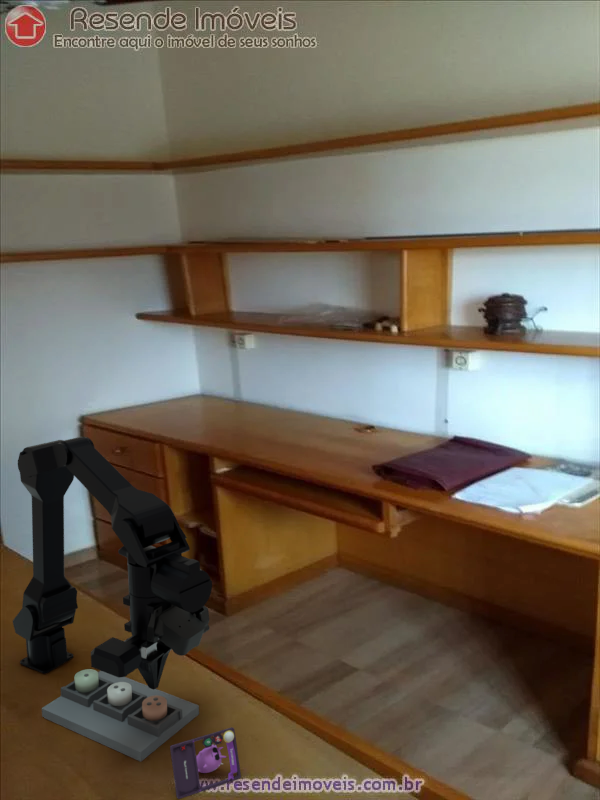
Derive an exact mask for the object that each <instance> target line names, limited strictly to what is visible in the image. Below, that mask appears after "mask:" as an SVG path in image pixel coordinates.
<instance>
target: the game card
mask: <svg viewBox="0 0 600 800" xmlns="http://www.w3.org/2000/svg"><path fill="white" fill-rule="evenodd" d="M235 731H236V730H235V728H234V727H229V728H228V727H227V728H225V729H222V730H218V731H215V732H212V733H208V734H205V735H201V736H198V737H196V738H192V739H188V740H185V741H181V742H178V743H175V744H172V745H170V746H169V748H170V749H169V751H170V757H171V765H172V772H173V779H174V780H173V781H174V786H175V787H174V788H175V795H176V798H177V799H178V800H180V799H183V798H186V797H189V796H192V795H195V794H198V793H202V792H204V791H207V790H210V789H213V788H216V787H219V786H223V785H224V784H228V783H230V782H234V781H237V780H240V779H241V778H242V774H241V773H242V772H241V767H240V759H239V753H238V744H237V738H236V732H235ZM222 734H223V735H222ZM201 740H202V746H204V748H203V749H202V750H200V751H198V754H197V753H196V745H195V742H197V741H198V742H199V741H201ZM222 741H224V742H225V743H226V747H227V748H226V749H227V753H228V758H229V765H230V766H229V767H230V772H228V776H227V778H225V779H223V780H219V781H217V782H213V783H210V784H207V785H204V786H201V782H200V775H199V774H200V773H201V774H207V773H212V772H214V771H216V770H217V769H218V768H219V767H220V766H221V765H224V763H222V760H223V759H225V758H227V756H226V755H223V754H222V753H221V750H222V749H223V748H224V746H220V747H219V746H218V747H217V745H220V744H222V743H223V742H222ZM234 774H236V775H235V776H234Z"/></svg>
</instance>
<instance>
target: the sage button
mask: <svg viewBox="0 0 600 800" xmlns="http://www.w3.org/2000/svg"><path fill="white" fill-rule="evenodd" d="M98 672H99V671H97V669H96V670H95V669H94V668H93V669H92V668H91V669H90V668H87V669H82V670H80V671H78V672H76V673H75V675H74V680H75V689H76V690H77V691H79V692H90V691H93V690H95V689H96V688H97V687H98V686H99V678H98Z"/></svg>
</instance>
